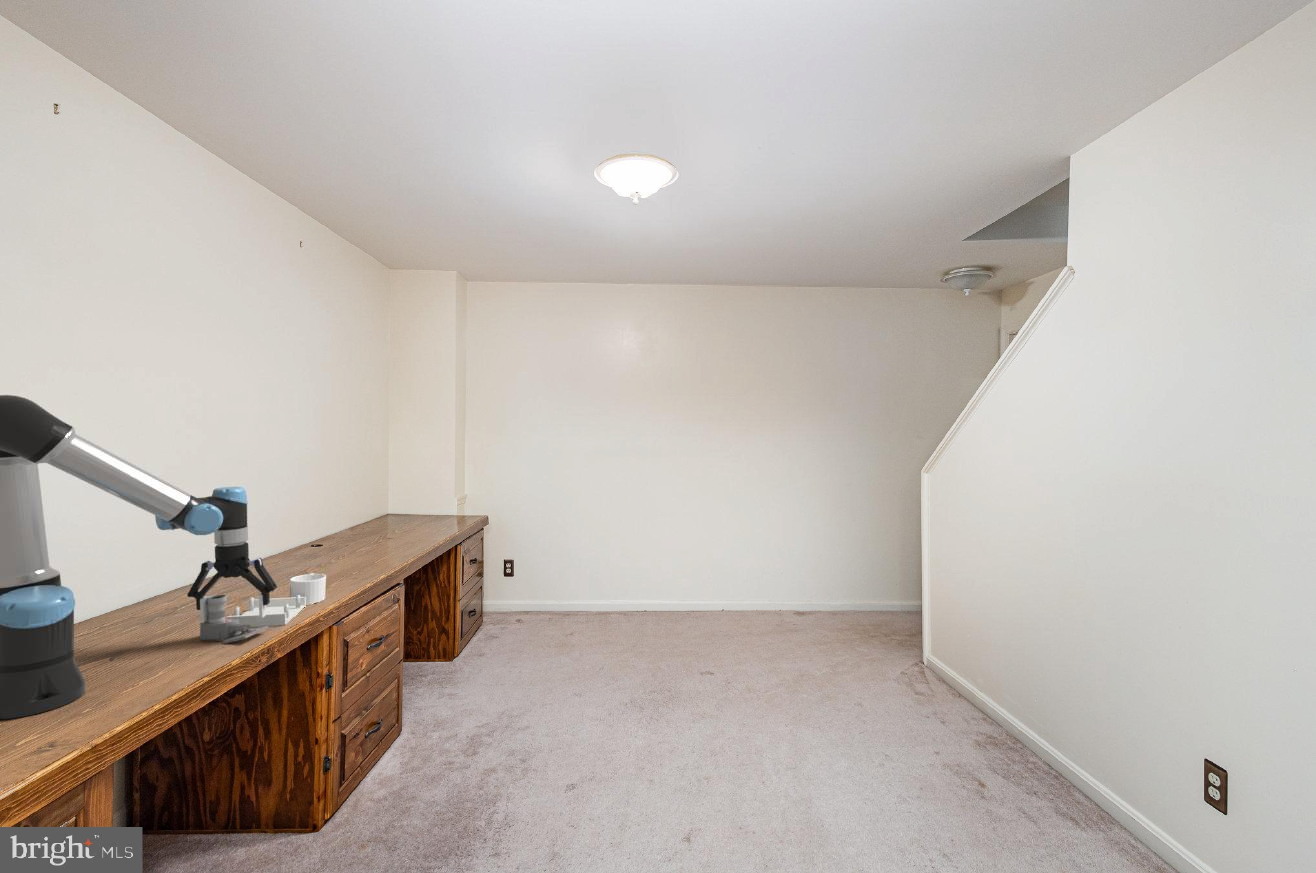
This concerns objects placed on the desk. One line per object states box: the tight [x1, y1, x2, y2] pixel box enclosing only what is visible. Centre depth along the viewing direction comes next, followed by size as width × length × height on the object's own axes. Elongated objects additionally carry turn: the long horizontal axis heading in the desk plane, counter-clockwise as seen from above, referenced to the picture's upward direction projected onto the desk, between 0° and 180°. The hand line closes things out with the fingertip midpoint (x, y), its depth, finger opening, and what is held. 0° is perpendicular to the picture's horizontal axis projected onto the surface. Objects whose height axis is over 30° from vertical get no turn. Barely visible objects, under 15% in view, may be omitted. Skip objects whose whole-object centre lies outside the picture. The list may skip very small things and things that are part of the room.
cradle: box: [226, 595, 307, 628], centre depth 180 cm, size 18×15×5 cm
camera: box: [199, 594, 270, 645], centre depth 163 cm, size 9×12×15 cm
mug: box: [289, 572, 327, 606], centre depth 198 cm, size 13×10×8 cm
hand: (234, 619), depth 163 cm, fingers open, 13 cm apart
